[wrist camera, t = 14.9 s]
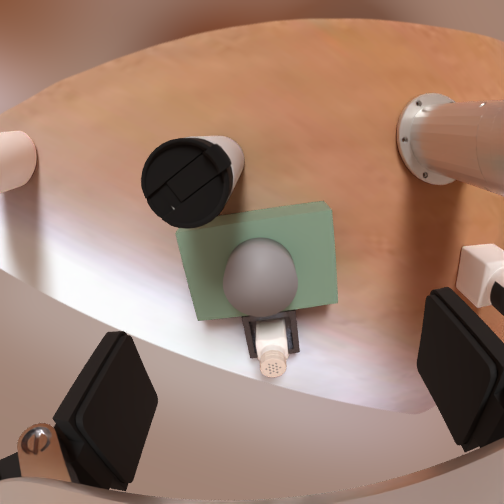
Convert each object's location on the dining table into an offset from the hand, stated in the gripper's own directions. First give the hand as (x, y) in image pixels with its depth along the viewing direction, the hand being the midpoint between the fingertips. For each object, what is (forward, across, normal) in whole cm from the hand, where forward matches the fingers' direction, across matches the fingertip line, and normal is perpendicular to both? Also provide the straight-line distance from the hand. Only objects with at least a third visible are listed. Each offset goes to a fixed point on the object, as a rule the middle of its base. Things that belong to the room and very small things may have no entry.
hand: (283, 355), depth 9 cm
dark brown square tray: (+32, +2, +20) cm, 38 cm away
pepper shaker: (+32, +2, +20) cm, 38 cm away
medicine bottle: (+32, -32, +16) cm, 48 cm away
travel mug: (+32, +5, -4) cm, 33 cm away
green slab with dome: (+32, +2, +9) cm, 34 cm away
